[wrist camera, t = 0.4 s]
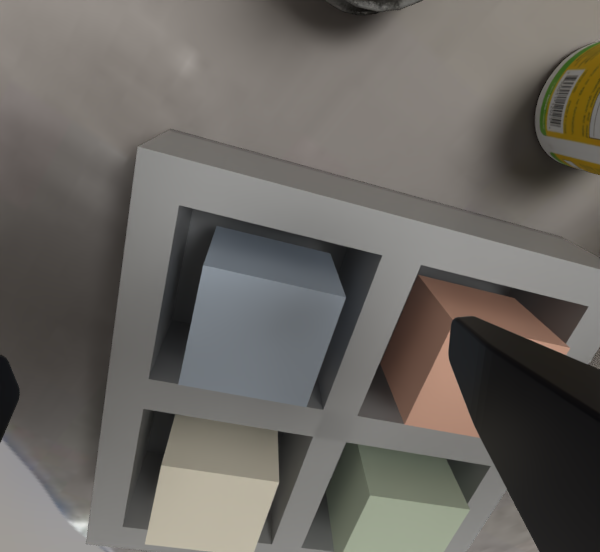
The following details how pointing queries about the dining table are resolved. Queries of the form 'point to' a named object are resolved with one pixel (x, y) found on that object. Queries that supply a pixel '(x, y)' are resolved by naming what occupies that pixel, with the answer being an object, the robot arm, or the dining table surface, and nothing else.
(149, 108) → the dining table surface
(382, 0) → the grey chess piece
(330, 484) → the key sage
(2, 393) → the robot arm
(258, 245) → the key slate
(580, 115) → the supplement bottle
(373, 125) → the dining table surface
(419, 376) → the key terracotta
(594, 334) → the keypad
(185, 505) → the key cream
